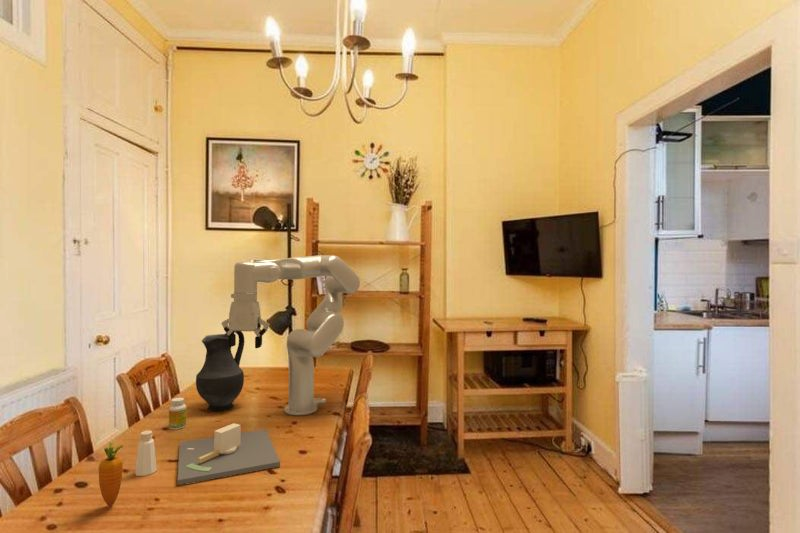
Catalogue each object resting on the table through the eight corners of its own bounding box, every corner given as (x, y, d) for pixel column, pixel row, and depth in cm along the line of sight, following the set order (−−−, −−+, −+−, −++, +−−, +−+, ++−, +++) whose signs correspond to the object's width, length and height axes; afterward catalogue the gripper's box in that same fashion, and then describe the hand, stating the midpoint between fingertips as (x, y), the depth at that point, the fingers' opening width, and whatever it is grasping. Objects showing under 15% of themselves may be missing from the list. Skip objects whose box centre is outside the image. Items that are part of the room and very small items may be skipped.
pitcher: (185, 411, 168) (186, 333, 167) (226, 396, 187) (226, 326, 187) (221, 418, 161) (221, 337, 161) (259, 401, 181) (259, 329, 180)
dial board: (265, 433, 148) (265, 428, 148) (280, 466, 125) (280, 461, 125) (179, 446, 137) (179, 441, 137) (177, 486, 114) (177, 479, 114)
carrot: (105, 501, 106) (106, 439, 106) (127, 500, 107) (127, 438, 106) (93, 512, 101) (93, 448, 101) (115, 512, 102) (116, 447, 101)
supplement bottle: (179, 430, 150) (179, 402, 150) (165, 429, 151) (165, 401, 151) (189, 424, 155) (189, 397, 155) (176, 423, 156) (176, 396, 156)
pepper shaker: (141, 478, 117) (141, 437, 117) (130, 472, 120) (130, 432, 120) (161, 470, 122) (161, 430, 122) (150, 465, 125) (150, 426, 125)
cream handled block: (231, 444, 135) (231, 422, 135) (242, 448, 133) (242, 425, 133) (193, 461, 124) (193, 437, 124) (205, 465, 121) (205, 441, 121)
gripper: (216, 297, 150) (216, 347, 150) (263, 299, 147) (263, 350, 147) (228, 296, 157) (228, 343, 158) (273, 297, 154) (273, 346, 155)
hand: (245, 346), depth 152 cm, fingers open, 9 cm apart
